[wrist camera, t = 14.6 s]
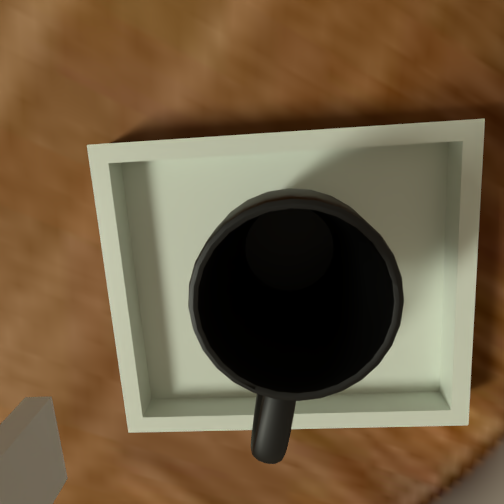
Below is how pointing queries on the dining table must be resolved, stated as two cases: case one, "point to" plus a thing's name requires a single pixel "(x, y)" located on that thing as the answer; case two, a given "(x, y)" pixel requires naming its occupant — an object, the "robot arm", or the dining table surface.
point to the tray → (298, 177)
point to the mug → (294, 304)
